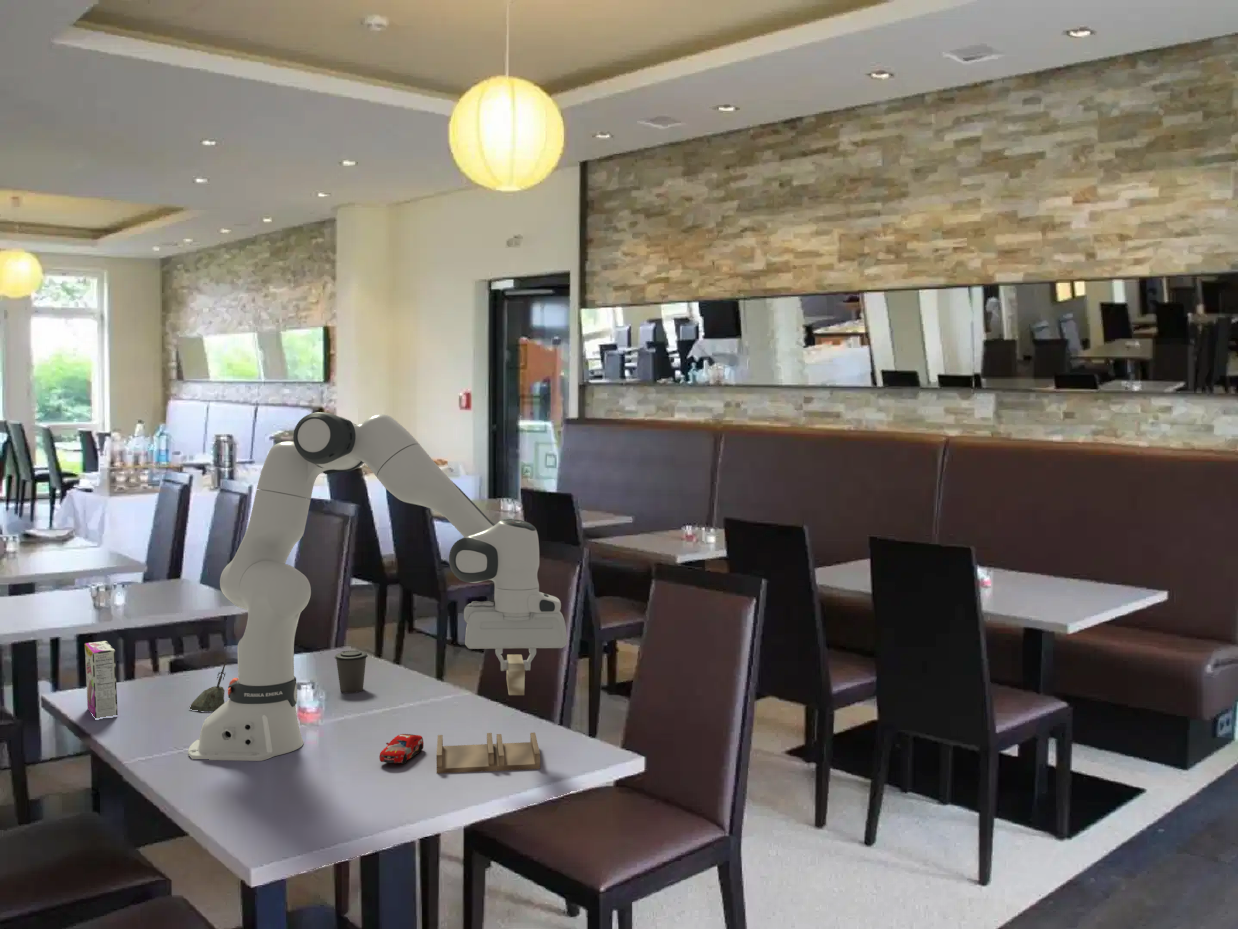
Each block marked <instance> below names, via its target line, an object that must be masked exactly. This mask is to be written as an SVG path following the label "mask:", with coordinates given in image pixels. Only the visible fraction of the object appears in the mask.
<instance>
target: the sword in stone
mask: <svg viewBox="0 0 1238 929" xmlns="http://www.w3.org/2000/svg"><path fill="white" fill-rule="evenodd" d="M227 662H228V658H227V657H226V658H225V659H224V663H223V666H222V670H221V671H220V672H218V673H217V677H216V679H217V684H216V686H215V685H214V686H211V687H209V688H207V689H205V690H202V692H201V693H200V694H199V695H198V696H197V697H196V698H195V699H193V700H194V701H192V702H191V704H190V705H191V707H190V706H189V707H190V709H192V710H198V711H215V710H217V709H218V708H219V707H220V706H221V705H223V704H224V703H225V691H226V690H225V689H224V687H223V686H220V684H221V682H222V681H224V679H225V677H226V673H225V672H224V671H225V668H226V665H227Z"/></svg>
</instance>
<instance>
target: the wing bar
mask: <svg viewBox="0 0 1238 929" xmlns="http://www.w3.org/2000/svg"><path fill="white" fill-rule="evenodd" d="M506 660H508V670H507V671H506V672H505V673H506V677H505V678H506V685H507V686H506V687H507V692H508V696H525V681H526V680H525V679H526V676H525V675H526V670H525V667H524V663H523V660H524V659H523V655H522V654H506Z"/></svg>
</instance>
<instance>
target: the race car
mask: <svg viewBox="0 0 1238 929" xmlns="http://www.w3.org/2000/svg"><path fill="white" fill-rule="evenodd" d="M385 744H386V745H387V746H385V747H384V748H383V750H381V751H380V752H379V761H380V763H385V764H386V763H387V764H401V765H405V764H406V763H407V761H408V760H411V758H413V757H414V756H416V755H417V754H421V753H422V750H424V738H423V736H422V735H419V734H412V733H400V734H398V735H396V736H395V737H394V738H392V739H391V740H390V742H385Z"/></svg>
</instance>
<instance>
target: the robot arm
mask: <svg viewBox="0 0 1238 929" xmlns="http://www.w3.org/2000/svg"><path fill="white" fill-rule="evenodd" d="M292 436H293V438H292V440H293V441H291V440H290V441H289V440H288V441H281V442H278V443H276V444H274V445H273V446H272V447H271V448H270V449H269V451H268V453H267V455H266V458H265V460H264V464H263V466H262V468H261V471H260V474H259V478H258V481H257V485H256V486H257V487H256V491H255V494H254V499H253V505H252V507H251V508H252V509H251V513H250V517H249V522H248V525H247V529H246V530H245V533H244V536H243V538H242V540H241V543H240V544H239V546H238V548H237V551H236V552H235V555H234V557H233V558H232V560H231V561H230V562H229V563H227V565H226V566H225V567H224V568H223V570H222V571H221V574H220V578H219V588H220V591H221V592H222V594H223V595H224V597H225V598H226V599H227V600H228V601H230V603H232V604H233V605H234V606H235V607H238V608H240V609H243V610H246V611H247V621H246V625H245V626H246V627H245V630H244V633H243V636H242V637H241V638H240V639H239V641H238V643H237V677H233V678H232V679H231V680H230V681H229V683H228V687H227V695H228V698H229V699H227V701H224V704H223V705H221V706H220V707H219V708H218V709H217V710H215V711H214V712H211V714H209V715H208V716H207V717H206V718H205V719H204V721H203V723H202V726H201V729H200V733H199V738H198V739H195V741H193V742H192V743H191V744H190V746H189V747H188V750H187V755H188V754H189V756H190V757H191V758H192V759H191V760H193V759H209V760H208V761H236V762H237V761H239V762H241V761H242V762H245V761H246V762H249V761H250V762H256V761H257V762H262V761H266V760H268V759H271V758H273V757H276V756H280V755H281V756H282V755H284V754H288V753H291V752H294V751H296V750H299V749H300V748H301V747H302V746H303V745H304V739H303V737H302V736H303V735H302V733H301V729H300V725H299V719H298V712H297V706H296V705H297V702H298V683H297V677H296V676H295V663H294V662H295V660H294V658H295V651H294V648H295V637H296V632H297V627H298V624H299V619H300V616H301V613H302V611H304V610H305V608H306V607H307V606H308V604H309V602H310V600H311V599H310V598H311V595H312V590H311V589H312V587H311V584H310V581H309V579H308V577H307V576H306V575H305V574H303V573H302V572H301V571H300V570H299V569H297V568H296V567H295V566H292V565H291V564H287V560H288V558H289V556H290V554H291V552H292V550H293V549H294V547H295V546H296V544H297V543H298V542H299V541H300V540H302V537H303V536H304V533H305V529H306V524H307V521H308V515H309V509H310V504H311V500H312V494H313V490H314V485H315V482H316V479H317V478H318V477H319V475H320V474H322V473H323V474H325V475H331V474H337V473H338V474H339V473H345V472H351V471H354V470H356V469H359V468H360V467H362V466H363V465H364V464H365V465H366V466H367V467H368V469H370V470H371V472H372V473H373V474H374V475H375V477H376V478H377V479H378V481H379V482H380V484H381V485H382V486H383V487H384V488H385V489H386V491H388V492H389V493H390V494H392V496H394V497H395V498H396V499H397V500H399V501H402V502H403V503H406V504H411V505H417V506H422V507H424V508H425V507H426V508H428V509H431V510H433V511H435V512H438V514H440V515H442V516H443V517H445V519H447V520H448V522H449V523H450V524H451V525H452V526H453V527H454V528H455V529H456V530H457V531H458V532H459V533H460V535H461V536H462V537H461V538H459V539H458V540H457V541H456V542H454V543H453V544H452V546H451V548H450V551H449V554H448V562H449V567H450V570H451V572H452V573H453V575H454V576H455V577H456V578H457V579H459V581H462V582H464V583H470V584H477V583H482V582H486V581H492V582H493V584H494V601H493V600H492V601H491V600H489V601H488V600H486V601H485V600H484V601H477V600H475V601H471V603H468V604H466V606H464V609H463V620H464V622H465V623H466V629H465V638H464V644H465V646H466V647H467V648H468V649H470V650H473V649H474V650H475V649H477V650H479V649H484V650H485V649H489V650H490V649H493V650H495V655H496V658H498V661H499V662H500V671H501V672H504V671H506V672H507V670H508V660H507V659H504V657H503V655H502V654H504V653H503V651H504V649H528V652H529V655H528V657H527V659H523V663H524V667H525V671H531V664H532V661H533V660H534V658H535V656H536V655H537V649H563V648H565V646H566V645H567V643H568V639H567V638H568V636H567V627H566V626H567V624H566V621H565V617H564V615H563V613H562V612H561V609H562V608H561V607H562V603H561V602H562V601H561V600H560V599H559V598H558V597H557V596H555V595H550V594H548V593H544V592H541V591H540V583H539V579H538V571H539V568H540V543H539V534H538V531H537V528H536V527H535V526H534V525H533V524H532V523H530V522H528V521H524V520H523V519H522V520H521V519H517V518H516V519H515V518H514V519H513V518H504V519H501V520H499V521H498V522H496V524H495V523H494V522H492V520H490V518H488V517H487V515H485V513H484V512H483V511H482V509H480V508H479V507H478V506H477V505H476V504H475V503H474V502H473V501H472V500H471V499H470V498H469V496H468V495H467V494H466V493H465V492H464V491H463V490H462V489H461V488H460V487H459V486H458V485H457V484H456V483H455V482H453V480H452V479H451V478H450V477H449V476H448V475H447V474H446V473H445V472H444V471H443V470H442V469H441V467H439V465H438V464H436V462H435V461H434V460H433V458H432V457H431V456H430V455H429V454H428V453H427V451H426V450H425V449H424V448H423V447H422V446H421V444H420V443H419V441H417V440H416V438H415V437H414V436H413V435H412V433H410V432H409V431H408V430H407V429H406V428H405V427H404V426H403V425H401V423H399V422H398V421H397V420H396V419H394V418H393V417H392V416H390V415H388V414H382V413H381V414H375V415H372V416H370V417H368V418H367V419H365V420H363V421H362V422H361V423H360V424H355V423H354V422H352V421H351V420H350V419H347V418H345V417H342V416H338V415H336V414H333V413H330V412H323V411H322V412H321V411H320V412H319V411H317V412H312V413H308V414H307V415H305V416H304V417H302V418H301V419H300V420H298V422H297V424H296V426H295V427H294V430H293V434H292Z"/></svg>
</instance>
